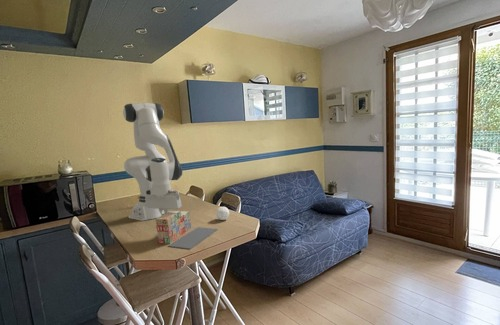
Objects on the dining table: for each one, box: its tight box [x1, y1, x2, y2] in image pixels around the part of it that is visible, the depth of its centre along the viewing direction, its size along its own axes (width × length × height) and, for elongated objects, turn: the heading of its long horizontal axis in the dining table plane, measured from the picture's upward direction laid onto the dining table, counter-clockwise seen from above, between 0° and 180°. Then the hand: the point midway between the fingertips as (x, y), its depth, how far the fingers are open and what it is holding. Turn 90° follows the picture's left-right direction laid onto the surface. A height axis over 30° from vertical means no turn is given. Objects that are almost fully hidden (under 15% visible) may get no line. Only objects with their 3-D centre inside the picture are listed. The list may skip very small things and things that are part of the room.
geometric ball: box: [215, 206, 230, 221], centre depth 154 cm, size 8×8×8 cm
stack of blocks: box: [155, 210, 192, 245], centre depth 135 cm, size 21×6×12 cm, turn 166°
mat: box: [167, 226, 218, 250], centre depth 130 cm, size 12×24×1 cm, turn 157°
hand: (164, 217), depth 136 cm, fingers closed
